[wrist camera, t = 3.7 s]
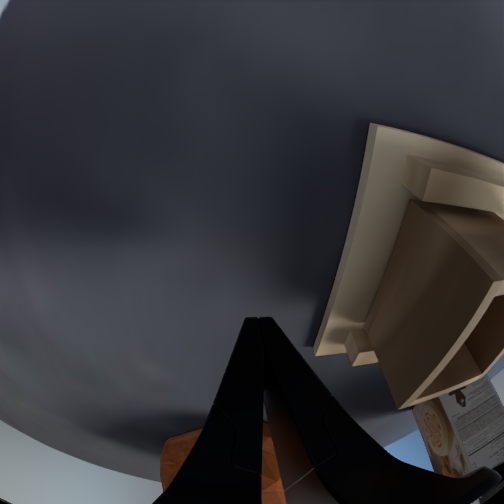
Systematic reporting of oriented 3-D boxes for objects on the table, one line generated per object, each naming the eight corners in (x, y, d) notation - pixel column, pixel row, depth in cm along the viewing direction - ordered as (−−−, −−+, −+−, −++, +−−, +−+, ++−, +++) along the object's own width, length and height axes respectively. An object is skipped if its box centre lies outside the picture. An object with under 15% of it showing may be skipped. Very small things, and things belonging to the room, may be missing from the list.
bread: (291, 469, 37) (299, 521, 28) (147, 442, 25) (143, 525, 16) (375, 438, 32) (392, 497, 23) (249, 405, 20) (263, 533, 11)
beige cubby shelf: (563, 193, 11) (587, 212, 8) (508, 310, 17) (524, 333, 15) (369, 122, 9) (418, 144, 6) (313, 347, 15) (325, 392, 13)
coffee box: (452, 389, 26) (492, 490, 12) (410, 410, 26) (445, 518, 13) (476, 351, 21) (532, 475, 7) (427, 377, 21) (478, 516, 8)
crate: (493, 211, 10) (557, 271, 6) (444, 314, 14) (482, 377, 10) (410, 199, 10) (493, 281, 6) (362, 326, 14) (397, 409, 9)
